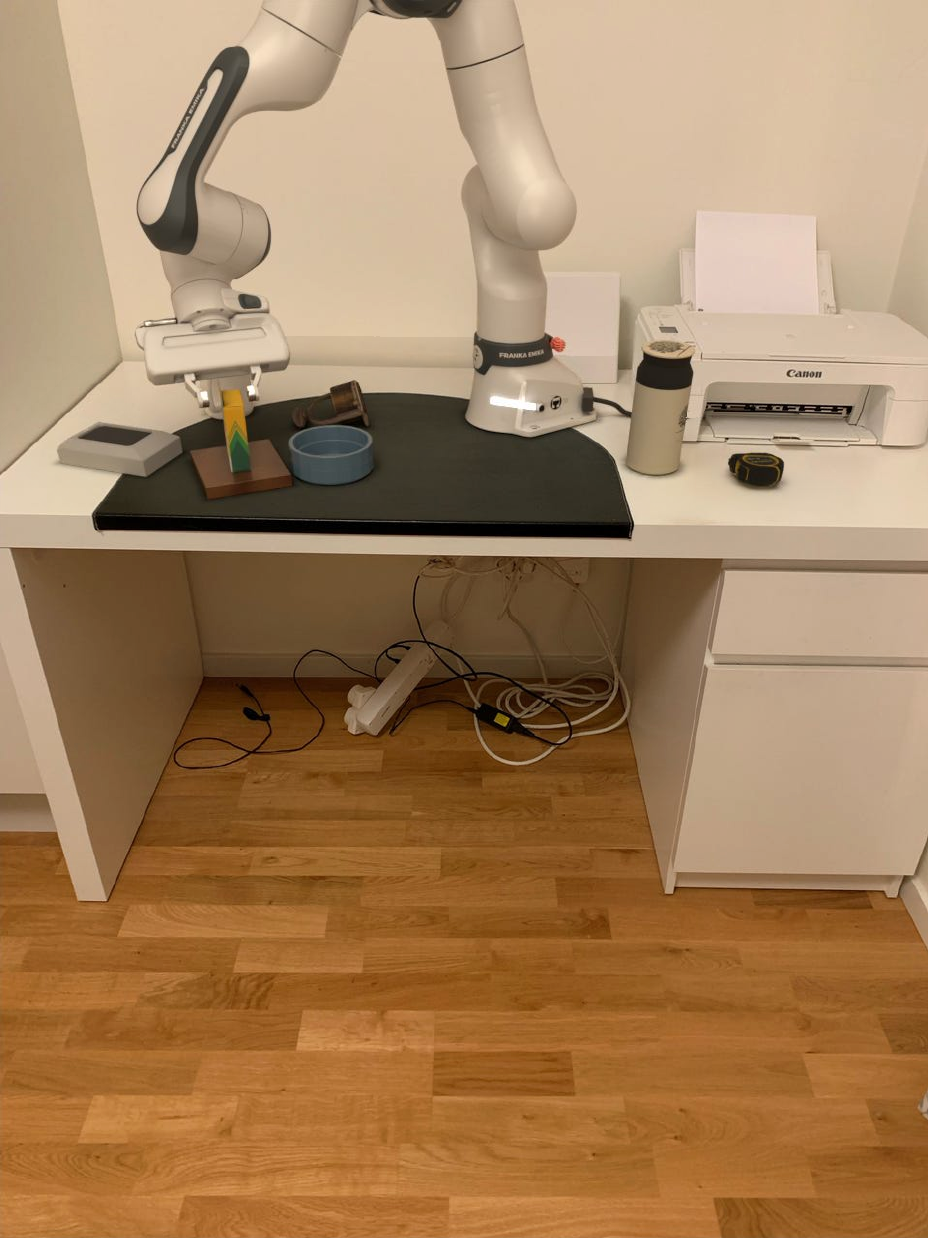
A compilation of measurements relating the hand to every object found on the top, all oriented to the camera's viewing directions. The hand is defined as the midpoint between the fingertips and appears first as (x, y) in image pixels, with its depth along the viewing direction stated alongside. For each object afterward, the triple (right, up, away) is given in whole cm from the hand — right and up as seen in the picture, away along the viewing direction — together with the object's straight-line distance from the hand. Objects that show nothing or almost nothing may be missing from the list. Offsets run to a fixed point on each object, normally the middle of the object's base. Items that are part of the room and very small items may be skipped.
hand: (229, 402), depth 124 cm
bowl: (+14, -8, +7) cm, 17 cm away
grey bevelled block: (-19, -6, +10) cm, 22 cm away
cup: (-7, +4, +25) cm, 26 cm away
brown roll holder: (+11, +2, +23) cm, 25 cm away
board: (0, -9, +5) cm, 10 cm away
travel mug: (+62, -7, +9) cm, 63 cm away
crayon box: (0, -8, +4) cm, 9 cm away
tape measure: (+76, -10, +6) cm, 77 cm away
